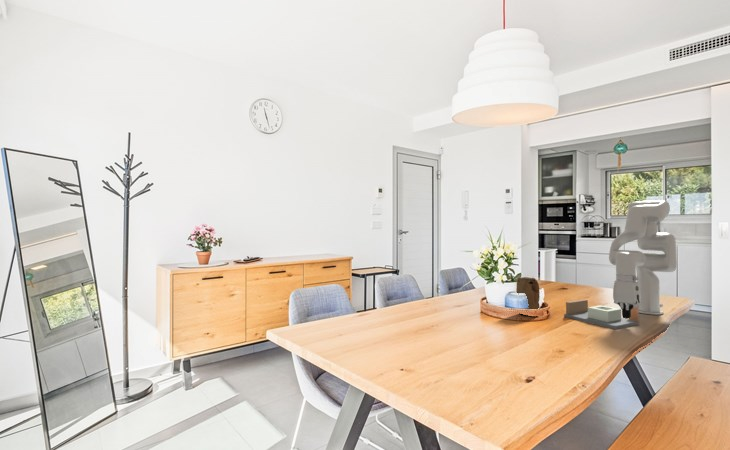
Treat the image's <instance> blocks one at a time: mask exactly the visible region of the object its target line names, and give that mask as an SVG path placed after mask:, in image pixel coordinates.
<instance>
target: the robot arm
mask: <svg viewBox="0 0 730 450" xmlns="http://www.w3.org/2000/svg"><path fill="white" fill-rule="evenodd" d="M627 210H628V211H627V216H626V221H625V227H624V231H623V232H621V233H620V234H618V235H617V236H616V237H615V238H614V240H612V242H611V244H610V248H609V252H608V253H609V254H608V261H609V263H610V264H611V265H614V266H615V280H614V284H613V289H612V298H613V304H614V305H615V304H616V305H618V306H619V309H621V317H622V318H624V319H629V318H630V317H631V310H632V308H634V307H638V310H639V314H644V315H652V316H654V315H656V316H659V315H663V314H664V310H661V309H660V308H663V307H664V305H663V304H662V303H661V302H660V300H661V299H660V279H659V276H657V274H656V273H655V272H657V273H660V272H661V273H674V272H675V271H676V269H677V265H678V264H677V245H676V238H675V236H674V234H672V233H670V232H658V226H657V225H658V224H657V223H659V222H663V221H664V220H665V218H667V217H668V215H669V214H670V211H671V206H670V203H669V202H668V201H667V200H663V199H661V200H660V199H658V200H657V199H656V200H639V201H638V200H637V201H632V202H630V203H628V204H627ZM634 241H637V247H638V249H640V250H642V251H639V250H627V249H624V250H623V249H621V247H622V246H624V245H626V244H628V243H630V242H634ZM643 251H648V252H643ZM649 251H650V252H649ZM652 251H653V252H652ZM655 252H662V253H655ZM633 304H634V305H633Z"/></svg>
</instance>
